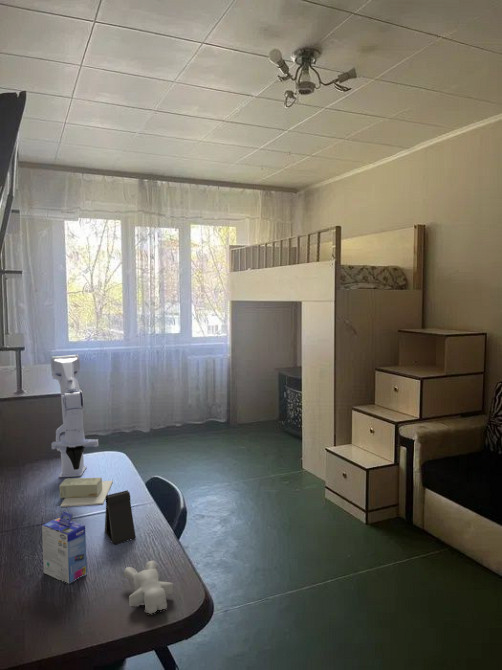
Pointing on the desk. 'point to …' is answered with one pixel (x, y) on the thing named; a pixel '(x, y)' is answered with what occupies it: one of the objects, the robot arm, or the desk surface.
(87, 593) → the desk surface
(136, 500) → the desk surface
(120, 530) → the phone stand
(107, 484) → the mat
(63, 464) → the robot arm
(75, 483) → the skincare box
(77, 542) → the ink cartridge box
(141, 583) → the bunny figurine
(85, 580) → the desk surface
